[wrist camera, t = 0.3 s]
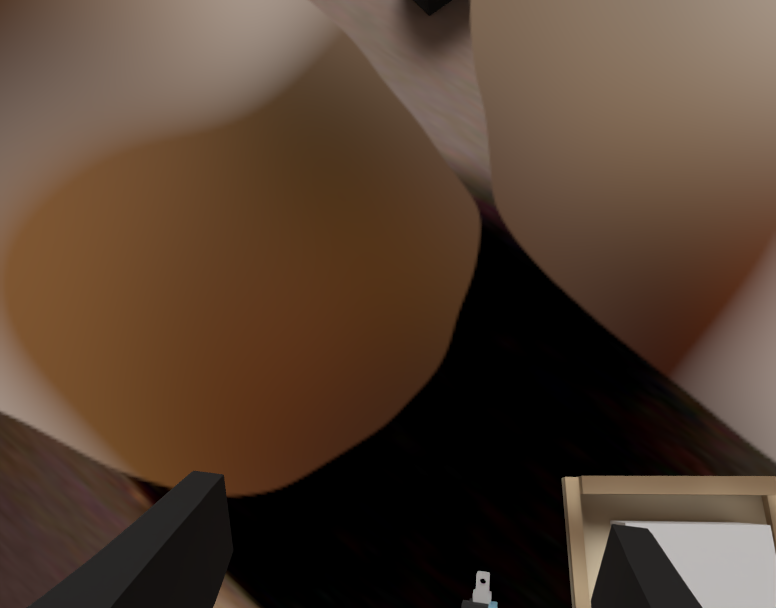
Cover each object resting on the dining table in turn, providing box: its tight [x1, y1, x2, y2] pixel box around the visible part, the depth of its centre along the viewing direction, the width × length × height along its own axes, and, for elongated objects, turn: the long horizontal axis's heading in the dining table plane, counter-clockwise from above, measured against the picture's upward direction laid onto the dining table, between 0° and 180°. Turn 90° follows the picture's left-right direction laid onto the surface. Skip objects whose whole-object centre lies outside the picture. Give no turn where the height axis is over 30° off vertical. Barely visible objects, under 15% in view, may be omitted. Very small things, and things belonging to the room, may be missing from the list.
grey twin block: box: [610, 520, 776, 608], centre depth 32 cm, size 5×7×5 cm
